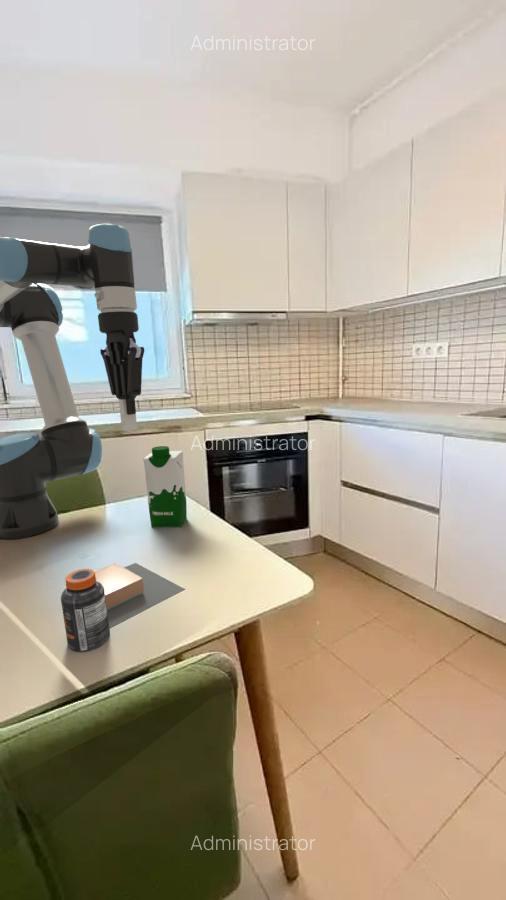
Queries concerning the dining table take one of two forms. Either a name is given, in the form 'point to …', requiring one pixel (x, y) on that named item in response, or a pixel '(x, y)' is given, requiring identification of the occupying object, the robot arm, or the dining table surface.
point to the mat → (143, 595)
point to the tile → (119, 585)
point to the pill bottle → (84, 611)
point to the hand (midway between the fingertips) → (129, 429)
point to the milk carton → (165, 487)
